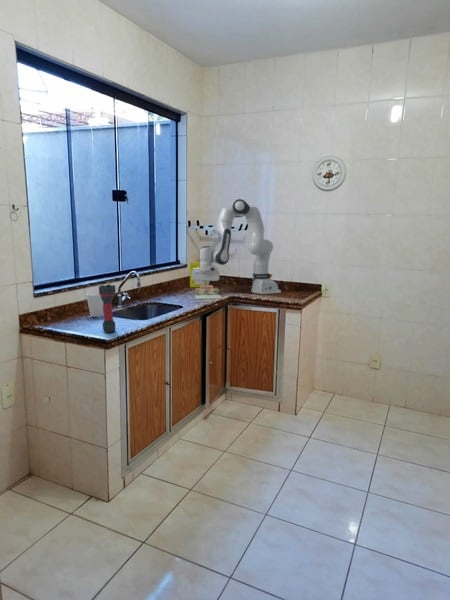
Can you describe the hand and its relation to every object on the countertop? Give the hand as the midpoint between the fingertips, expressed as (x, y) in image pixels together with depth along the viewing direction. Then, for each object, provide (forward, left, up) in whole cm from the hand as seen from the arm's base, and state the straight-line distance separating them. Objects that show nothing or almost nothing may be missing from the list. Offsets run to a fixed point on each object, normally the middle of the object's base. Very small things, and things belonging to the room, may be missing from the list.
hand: (206, 286), depth 306 cm
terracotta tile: (0, +4, -1) cm, 5 cm away
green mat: (0, +17, -5) cm, 18 cm away
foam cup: (+68, +67, -5) cm, 96 cm away
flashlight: (+56, +102, -5) cm, 117 cm away
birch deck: (0, +5, -5) cm, 7 cm away
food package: (+3, -29, -5) cm, 29 cm away
